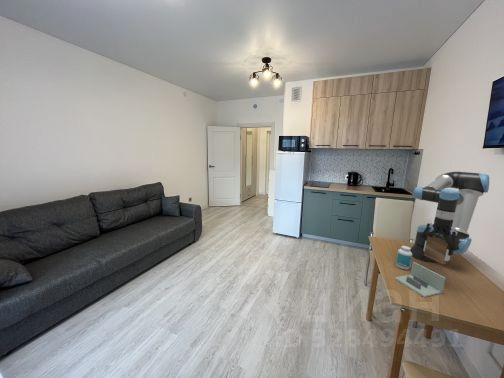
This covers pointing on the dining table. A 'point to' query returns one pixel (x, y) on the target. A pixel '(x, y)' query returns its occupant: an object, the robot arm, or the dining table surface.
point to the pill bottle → (404, 258)
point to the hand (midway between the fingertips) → (435, 255)
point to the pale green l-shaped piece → (423, 281)
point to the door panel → (436, 249)
